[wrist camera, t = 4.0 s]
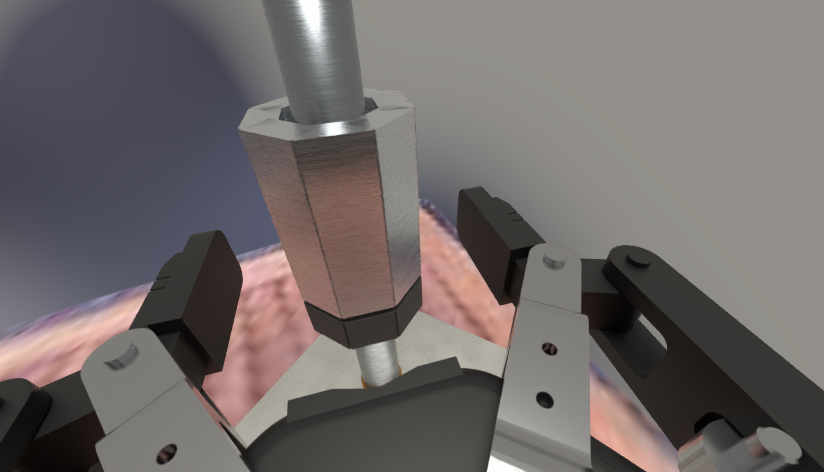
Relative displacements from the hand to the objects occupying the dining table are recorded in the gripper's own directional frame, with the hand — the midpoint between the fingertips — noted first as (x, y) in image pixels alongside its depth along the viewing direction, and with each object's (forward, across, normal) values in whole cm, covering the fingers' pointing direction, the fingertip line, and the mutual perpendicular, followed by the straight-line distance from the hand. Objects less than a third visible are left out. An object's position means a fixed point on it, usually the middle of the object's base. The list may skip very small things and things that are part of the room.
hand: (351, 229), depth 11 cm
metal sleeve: (+3, 0, +5) cm, 6 cm away
